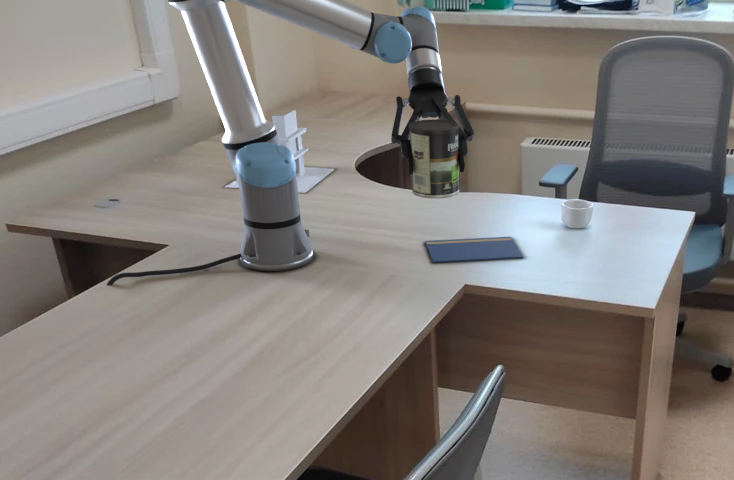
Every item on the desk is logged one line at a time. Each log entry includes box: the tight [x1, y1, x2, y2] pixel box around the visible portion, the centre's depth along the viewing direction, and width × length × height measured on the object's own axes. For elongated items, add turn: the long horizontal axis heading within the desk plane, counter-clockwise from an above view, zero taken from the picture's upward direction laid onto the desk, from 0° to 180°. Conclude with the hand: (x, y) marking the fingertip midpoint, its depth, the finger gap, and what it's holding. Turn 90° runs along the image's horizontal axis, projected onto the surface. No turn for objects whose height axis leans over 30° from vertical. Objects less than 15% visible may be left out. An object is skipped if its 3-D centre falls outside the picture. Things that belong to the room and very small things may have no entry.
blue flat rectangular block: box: [425, 236, 524, 264], centre depth 189 cm, size 20×13×1 cm, turn 102°
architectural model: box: [224, 109, 336, 194], centre depth 231 cm, size 23×24×18 cm
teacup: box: [560, 198, 594, 230], centre depth 205 cm, size 10×8×5 cm
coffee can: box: [409, 118, 460, 199], centre depth 177 cm, size 10×10×14 cm
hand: (437, 170), depth 176 cm, fingers closed on coffee can, 10 cm apart
